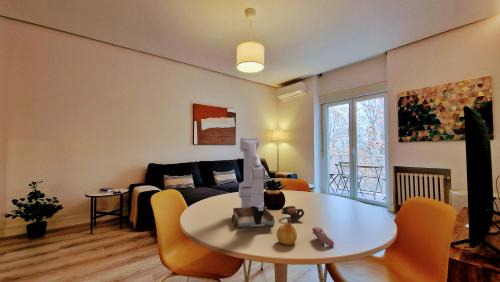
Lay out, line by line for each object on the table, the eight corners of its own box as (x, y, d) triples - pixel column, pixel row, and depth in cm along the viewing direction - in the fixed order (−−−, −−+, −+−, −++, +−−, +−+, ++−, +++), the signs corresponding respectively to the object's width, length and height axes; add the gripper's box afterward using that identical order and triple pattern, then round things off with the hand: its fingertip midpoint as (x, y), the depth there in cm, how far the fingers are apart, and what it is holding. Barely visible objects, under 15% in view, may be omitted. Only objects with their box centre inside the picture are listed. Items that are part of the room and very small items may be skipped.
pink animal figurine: (315, 241, 99) (308, 226, 98) (324, 236, 99) (317, 221, 99) (325, 251, 89) (317, 235, 89) (335, 245, 89) (327, 229, 89)
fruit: (301, 242, 88) (296, 220, 92) (280, 244, 87) (276, 222, 91) (296, 245, 95) (292, 225, 99) (277, 248, 94) (274, 227, 98)
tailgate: (271, 222, 112) (274, 220, 107) (271, 226, 111) (275, 224, 106) (239, 224, 109) (240, 222, 104) (239, 228, 108) (241, 226, 103)
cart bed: (267, 217, 126) (267, 206, 126) (275, 226, 112) (275, 213, 113) (231, 219, 123) (231, 208, 123) (234, 228, 109) (234, 215, 109)
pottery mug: (282, 223, 118) (279, 207, 123) (285, 226, 126) (282, 211, 130) (305, 219, 116) (301, 202, 120) (307, 222, 124) (303, 206, 128)
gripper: (246, 190, 113) (246, 219, 113) (251, 196, 99) (251, 228, 98) (260, 190, 115) (260, 218, 114) (267, 195, 100) (268, 227, 100)
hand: (257, 223), depth 106 cm, fingers closed on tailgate, 2 cm apart
